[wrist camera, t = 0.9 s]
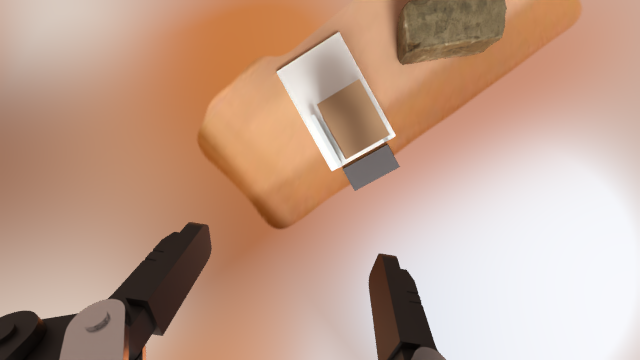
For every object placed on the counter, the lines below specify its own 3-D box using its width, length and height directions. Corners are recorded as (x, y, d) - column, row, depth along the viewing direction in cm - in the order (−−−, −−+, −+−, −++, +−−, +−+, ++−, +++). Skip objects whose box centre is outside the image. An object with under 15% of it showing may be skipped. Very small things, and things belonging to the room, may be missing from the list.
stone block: (392, 25, 30) (402, -2, 25) (482, 8, 29) (511, -23, 24) (397, 69, 31) (408, 51, 26) (486, 54, 30) (515, 32, 25)
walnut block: (354, 100, 31) (359, 78, 23) (377, 141, 31) (390, 134, 23) (323, 119, 31) (316, 104, 24) (345, 159, 32) (346, 158, 24)
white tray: (338, 34, 31) (338, 17, 27) (408, 161, 31) (417, 161, 28) (277, 73, 32) (269, 62, 29) (345, 195, 33) (345, 199, 29)
